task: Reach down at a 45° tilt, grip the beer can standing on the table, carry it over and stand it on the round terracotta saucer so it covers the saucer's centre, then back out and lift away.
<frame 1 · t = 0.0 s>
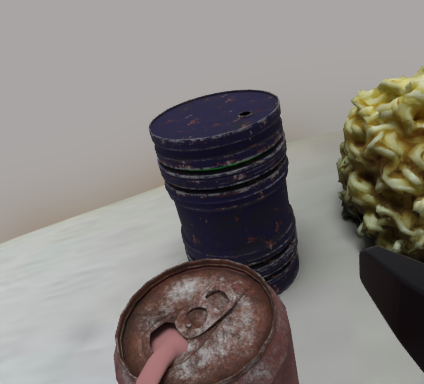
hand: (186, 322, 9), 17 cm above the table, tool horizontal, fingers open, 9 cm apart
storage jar: (246, 266, 34), on the table
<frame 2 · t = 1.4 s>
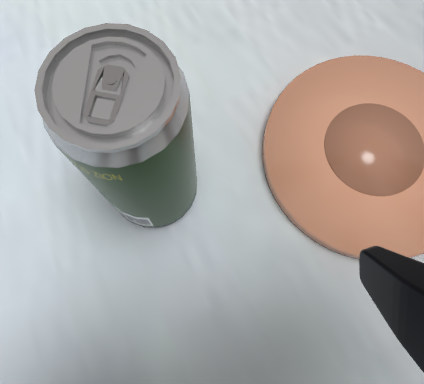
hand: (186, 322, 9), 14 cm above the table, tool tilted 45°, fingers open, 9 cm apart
saucer: (366, 155, 25), on the table
beer can: (156, 189, 24), on the table
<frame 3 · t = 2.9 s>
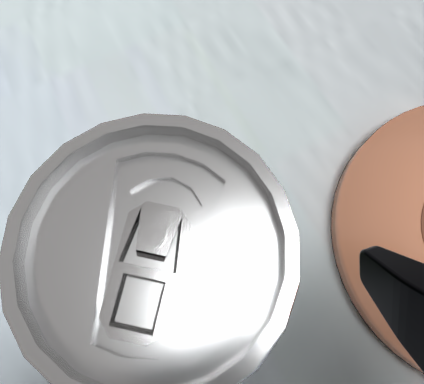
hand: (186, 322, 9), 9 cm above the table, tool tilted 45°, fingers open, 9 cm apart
beer can: (188, 284, 18), on the table
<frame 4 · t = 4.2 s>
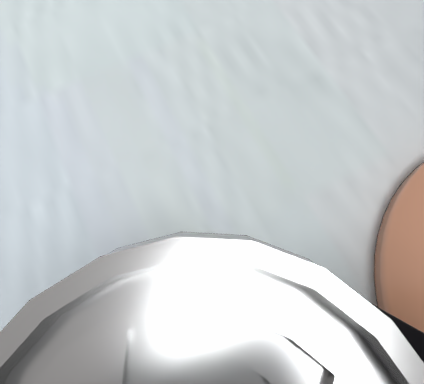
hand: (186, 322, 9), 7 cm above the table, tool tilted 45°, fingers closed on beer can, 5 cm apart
beer can: (204, 347, 15), on the table, touching gripper
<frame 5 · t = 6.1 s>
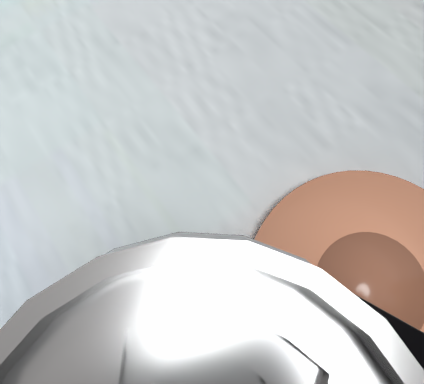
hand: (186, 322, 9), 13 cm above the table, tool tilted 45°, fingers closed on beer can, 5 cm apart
saucer: (362, 289, 22), on the table
beer can: (203, 346, 15), point 6 cm above the table, touching gripper
when the fingers open (9 cm above the table, at t = 8.2 s): beer can stays where it is, resting on saucer.
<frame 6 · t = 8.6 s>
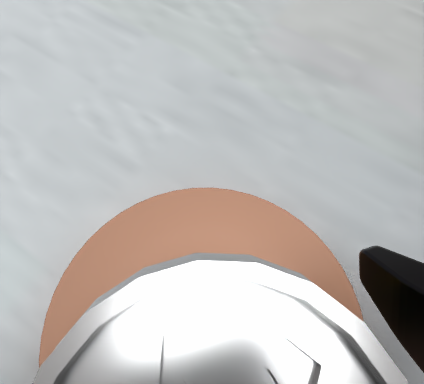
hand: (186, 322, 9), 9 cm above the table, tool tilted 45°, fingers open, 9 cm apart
saucer: (205, 341, 17), on the table
beer can: (206, 349, 16), point 1 cm above the table, touching saucer
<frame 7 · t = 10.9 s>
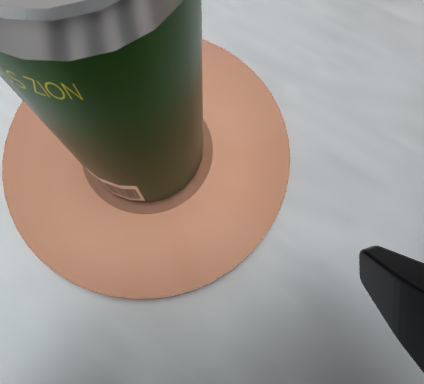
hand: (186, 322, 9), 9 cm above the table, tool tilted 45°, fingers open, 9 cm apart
saucer: (151, 159, 19), on the table
beer can: (149, 154, 18), point 1 cm above the table, touching saucer
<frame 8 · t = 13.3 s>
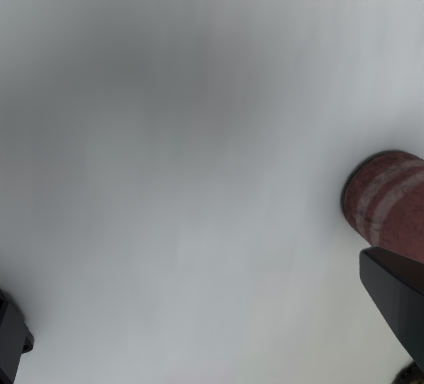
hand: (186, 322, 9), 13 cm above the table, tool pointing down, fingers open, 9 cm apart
can: (377, 189, 25), on the table
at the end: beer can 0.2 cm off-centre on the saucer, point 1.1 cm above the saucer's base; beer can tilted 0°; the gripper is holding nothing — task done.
